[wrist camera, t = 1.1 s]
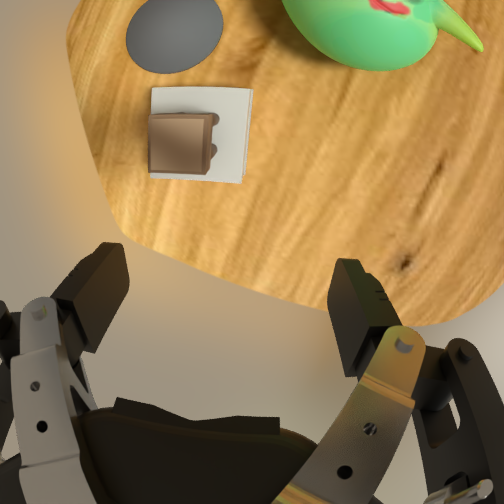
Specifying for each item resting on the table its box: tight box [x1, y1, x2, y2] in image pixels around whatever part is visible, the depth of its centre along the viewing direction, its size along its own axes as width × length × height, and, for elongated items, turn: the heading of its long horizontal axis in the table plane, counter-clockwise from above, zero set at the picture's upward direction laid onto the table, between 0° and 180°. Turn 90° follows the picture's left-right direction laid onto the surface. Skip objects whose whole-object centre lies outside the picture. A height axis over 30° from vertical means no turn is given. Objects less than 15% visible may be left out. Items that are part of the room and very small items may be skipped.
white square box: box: [150, 87, 253, 184], centre depth 29 cm, size 10×10×5 cm
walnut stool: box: [148, 112, 220, 175], centre depth 23 cm, size 5×5×7 cm
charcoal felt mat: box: [126, 0, 223, 74], centre depth 24 cm, size 12×12×1 cm
